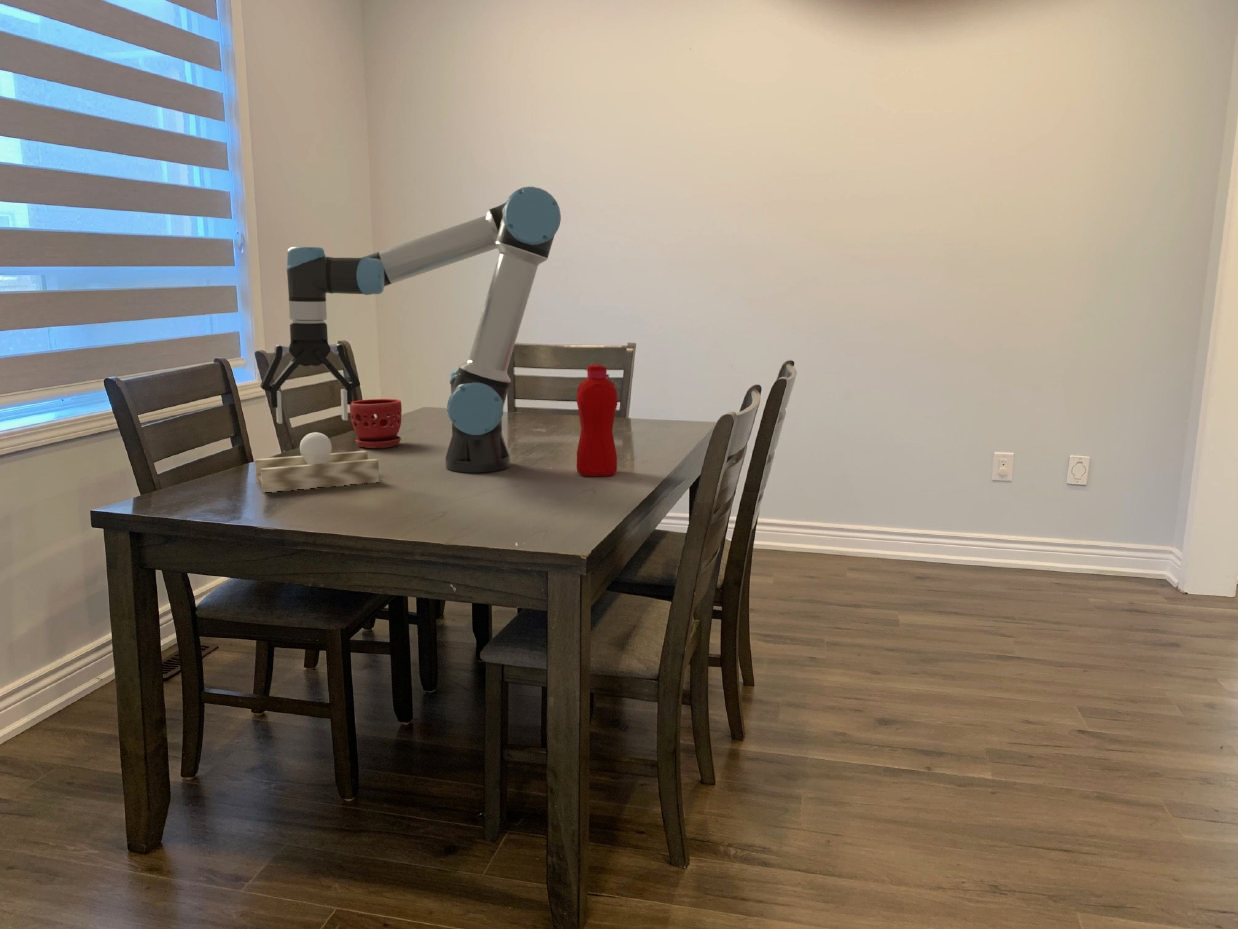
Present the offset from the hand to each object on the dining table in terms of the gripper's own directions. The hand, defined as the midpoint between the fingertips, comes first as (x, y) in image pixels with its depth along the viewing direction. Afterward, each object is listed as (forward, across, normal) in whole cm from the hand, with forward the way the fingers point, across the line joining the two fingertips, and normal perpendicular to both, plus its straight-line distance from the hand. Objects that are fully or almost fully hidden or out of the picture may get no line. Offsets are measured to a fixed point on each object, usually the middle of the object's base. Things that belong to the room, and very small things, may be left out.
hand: (312, 421), depth 205 cm
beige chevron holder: (+14, 0, 0) cm, 14 cm away
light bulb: (+14, 0, 0) cm, 14 cm away
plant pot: (+14, -22, -38) cm, 46 cm away
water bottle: (+13, -60, +18) cm, 64 cm away
